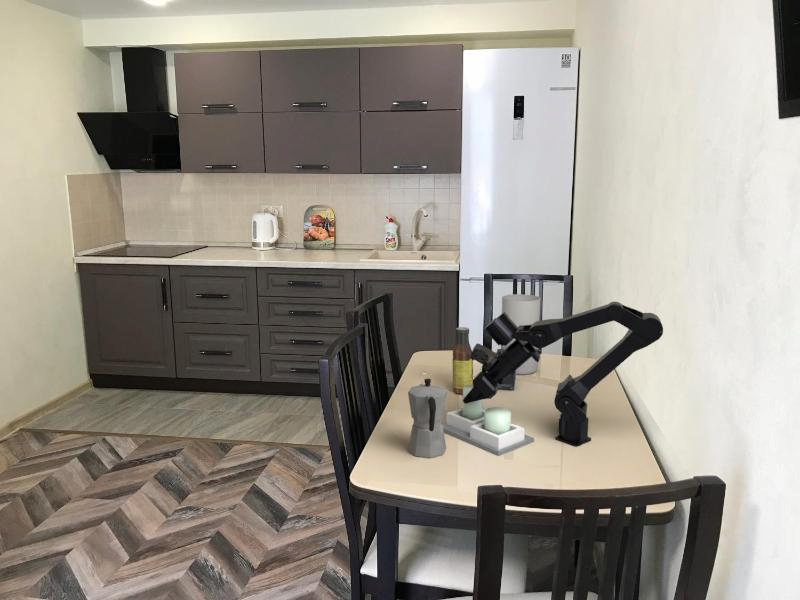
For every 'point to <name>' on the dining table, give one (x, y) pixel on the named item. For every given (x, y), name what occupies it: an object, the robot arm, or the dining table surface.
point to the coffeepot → (427, 420)
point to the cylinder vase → (522, 321)
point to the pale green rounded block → (471, 406)
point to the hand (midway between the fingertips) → (467, 396)
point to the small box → (507, 380)
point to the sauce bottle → (462, 361)
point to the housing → (488, 430)
